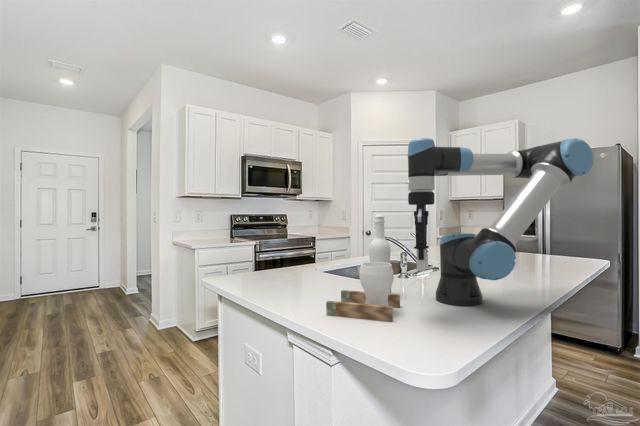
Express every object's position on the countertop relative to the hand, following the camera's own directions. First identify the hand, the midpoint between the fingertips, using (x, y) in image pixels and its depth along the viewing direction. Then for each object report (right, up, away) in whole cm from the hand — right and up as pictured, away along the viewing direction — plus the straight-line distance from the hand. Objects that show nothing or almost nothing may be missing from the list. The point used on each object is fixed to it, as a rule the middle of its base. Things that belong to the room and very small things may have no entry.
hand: (421, 270), depth 102 cm
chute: (-16, -14, +7) cm, 22 cm away
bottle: (-8, -14, +25) cm, 30 cm away
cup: (-12, -14, +5) cm, 20 cm away
